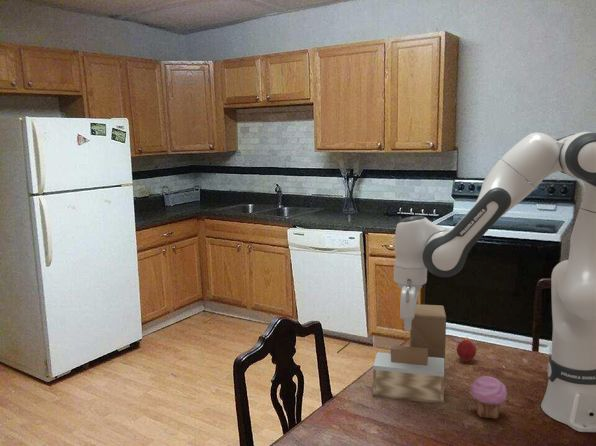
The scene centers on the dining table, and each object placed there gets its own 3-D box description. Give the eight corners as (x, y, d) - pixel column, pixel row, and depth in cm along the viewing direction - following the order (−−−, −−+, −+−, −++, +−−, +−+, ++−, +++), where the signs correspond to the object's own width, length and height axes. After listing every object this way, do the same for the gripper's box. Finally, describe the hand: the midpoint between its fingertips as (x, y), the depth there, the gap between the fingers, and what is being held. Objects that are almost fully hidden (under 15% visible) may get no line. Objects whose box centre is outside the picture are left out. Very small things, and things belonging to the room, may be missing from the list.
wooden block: (444, 380, 150) (446, 316, 147) (410, 378, 152) (410, 314, 149) (442, 365, 160) (443, 304, 157) (409, 363, 162) (410, 303, 159)
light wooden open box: (443, 388, 146) (444, 362, 144) (443, 404, 137) (444, 376, 136) (377, 381, 151) (377, 356, 150) (373, 396, 142) (373, 369, 141)
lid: (444, 365, 145) (444, 345, 144) (444, 380, 136) (444, 358, 135) (377, 359, 150) (377, 339, 149) (373, 373, 141) (373, 352, 140)
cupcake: (470, 421, 129) (471, 384, 127) (468, 403, 137) (469, 369, 136) (508, 425, 127) (509, 388, 125) (503, 407, 135) (505, 372, 133)
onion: (478, 365, 160) (479, 341, 158) (459, 365, 160) (460, 341, 158) (472, 357, 165) (473, 334, 164) (454, 357, 165) (455, 334, 164)
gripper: (420, 287, 128) (418, 339, 130) (423, 266, 147) (422, 312, 149) (395, 285, 129) (393, 336, 132) (401, 265, 149) (400, 310, 151)
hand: (408, 323), depth 141 cm, fingers open, 8 cm apart
